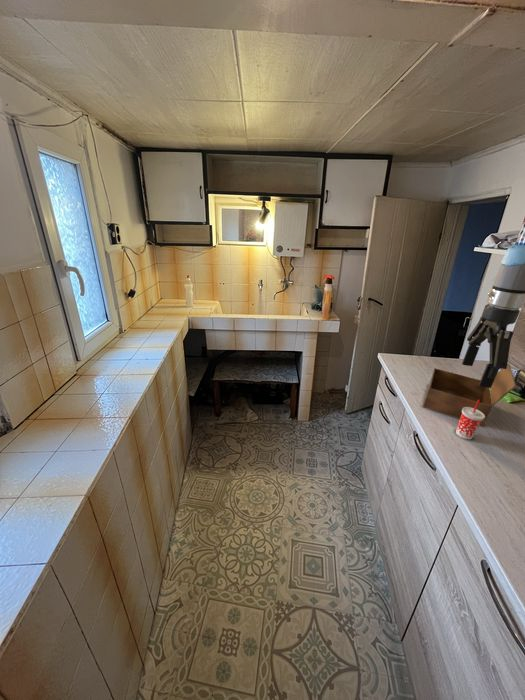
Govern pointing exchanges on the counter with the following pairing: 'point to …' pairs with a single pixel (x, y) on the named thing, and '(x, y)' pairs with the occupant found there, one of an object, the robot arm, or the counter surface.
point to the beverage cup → (469, 422)
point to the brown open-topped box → (456, 394)
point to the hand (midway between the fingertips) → (475, 375)
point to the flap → (502, 384)
